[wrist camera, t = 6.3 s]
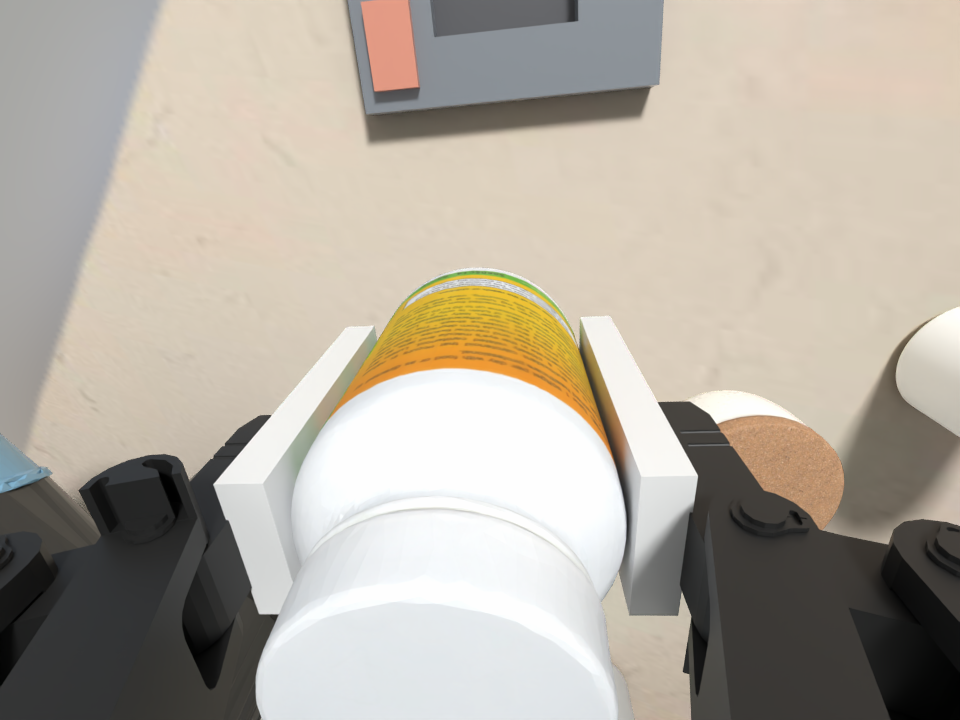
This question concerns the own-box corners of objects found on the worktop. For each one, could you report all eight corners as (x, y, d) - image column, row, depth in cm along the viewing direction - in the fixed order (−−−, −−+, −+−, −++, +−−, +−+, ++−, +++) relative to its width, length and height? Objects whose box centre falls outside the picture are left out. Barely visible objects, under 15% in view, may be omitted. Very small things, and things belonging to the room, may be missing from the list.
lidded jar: (605, 408, 36) (637, 491, 28) (749, 339, 34) (832, 407, 25) (664, 508, 40) (708, 609, 31) (798, 452, 37) (886, 546, 29)
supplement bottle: (368, 274, 13) (91, 550, 4) (570, 251, 13) (708, 514, 4) (405, 442, 16) (268, 850, 7) (579, 429, 15) (680, 853, 6)
